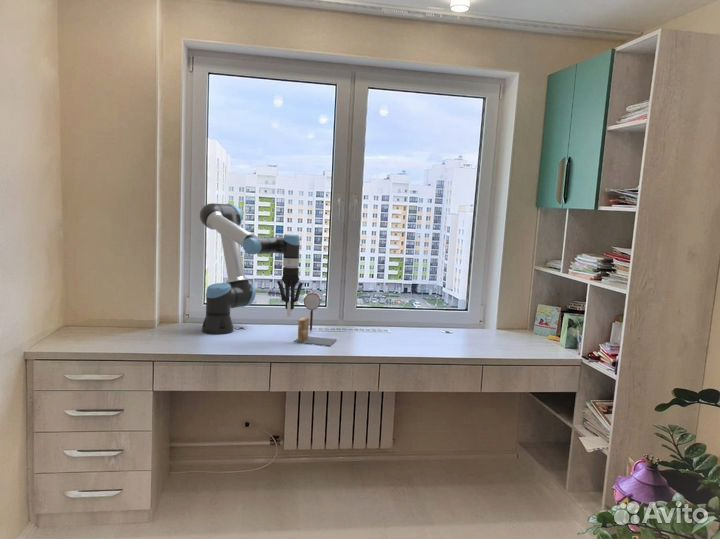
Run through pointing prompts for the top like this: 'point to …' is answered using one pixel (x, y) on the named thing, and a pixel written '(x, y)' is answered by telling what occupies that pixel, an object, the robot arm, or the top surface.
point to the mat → (317, 341)
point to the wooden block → (303, 329)
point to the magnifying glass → (312, 304)
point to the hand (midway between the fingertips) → (289, 315)
